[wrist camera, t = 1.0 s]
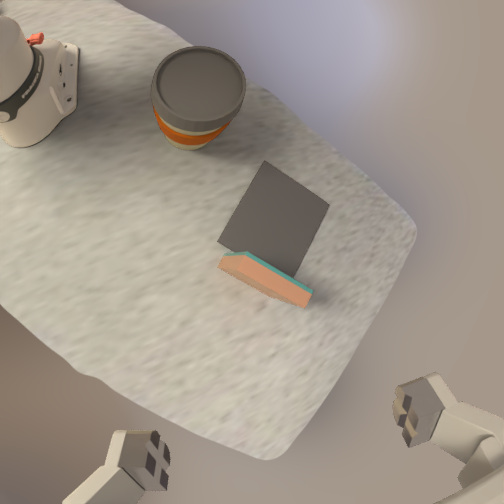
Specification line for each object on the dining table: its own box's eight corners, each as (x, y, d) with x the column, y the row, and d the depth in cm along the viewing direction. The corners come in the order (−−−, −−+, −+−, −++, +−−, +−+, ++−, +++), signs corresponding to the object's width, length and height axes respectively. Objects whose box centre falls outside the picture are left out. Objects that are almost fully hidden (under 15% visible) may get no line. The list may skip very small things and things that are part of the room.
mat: (288, 283, 54) (289, 283, 53) (217, 241, 51) (217, 241, 50) (328, 204, 56) (329, 204, 56) (264, 161, 53) (264, 160, 53)
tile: (269, 296, 53) (304, 308, 39) (217, 267, 51) (236, 269, 37) (276, 283, 53) (313, 290, 40) (224, 253, 51) (247, 251, 38)
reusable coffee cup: (147, 158, 48) (143, 119, 34) (157, 92, 48) (159, 41, 34) (223, 163, 51) (246, 129, 37) (227, 98, 52) (250, 51, 37)
